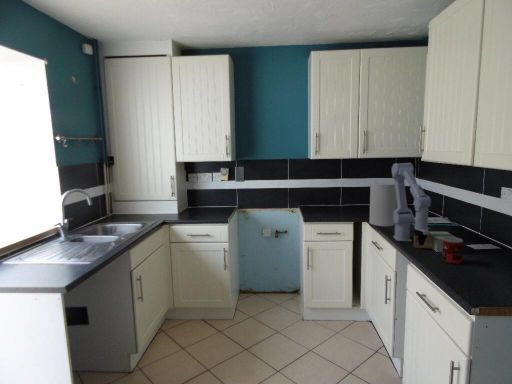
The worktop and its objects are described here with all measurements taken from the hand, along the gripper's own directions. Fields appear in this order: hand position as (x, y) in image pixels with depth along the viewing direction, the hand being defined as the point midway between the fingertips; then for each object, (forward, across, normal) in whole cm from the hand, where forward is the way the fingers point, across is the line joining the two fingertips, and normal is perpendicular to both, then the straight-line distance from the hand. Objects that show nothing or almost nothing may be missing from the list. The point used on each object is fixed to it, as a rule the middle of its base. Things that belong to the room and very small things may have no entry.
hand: (420, 244), depth 173 cm
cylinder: (+2, +55, +6) cm, 55 cm away
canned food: (+2, -19, -8) cm, 21 cm away
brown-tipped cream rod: (+2, 0, -4) cm, 4 cm away
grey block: (+2, 0, -11) cm, 11 cm away
